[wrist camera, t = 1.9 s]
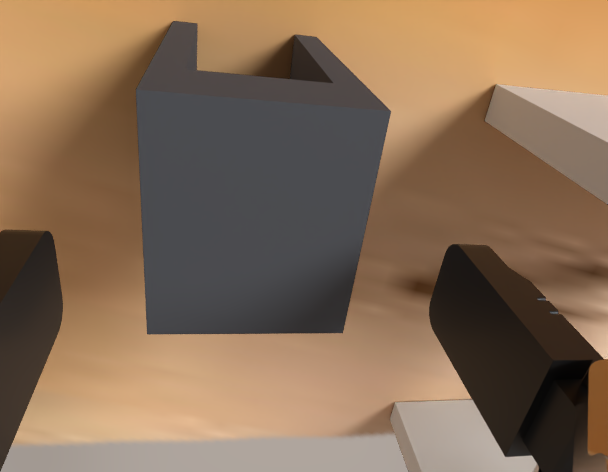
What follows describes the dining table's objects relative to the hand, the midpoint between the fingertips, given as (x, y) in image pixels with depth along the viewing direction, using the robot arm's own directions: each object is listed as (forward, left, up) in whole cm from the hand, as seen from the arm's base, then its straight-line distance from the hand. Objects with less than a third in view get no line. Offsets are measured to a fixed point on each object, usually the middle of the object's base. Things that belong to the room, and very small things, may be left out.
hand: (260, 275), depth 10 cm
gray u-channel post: (0, 0, -10) cm, 10 cm away
